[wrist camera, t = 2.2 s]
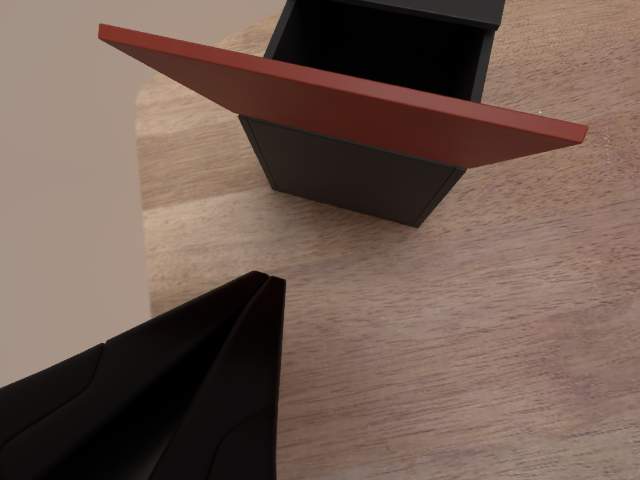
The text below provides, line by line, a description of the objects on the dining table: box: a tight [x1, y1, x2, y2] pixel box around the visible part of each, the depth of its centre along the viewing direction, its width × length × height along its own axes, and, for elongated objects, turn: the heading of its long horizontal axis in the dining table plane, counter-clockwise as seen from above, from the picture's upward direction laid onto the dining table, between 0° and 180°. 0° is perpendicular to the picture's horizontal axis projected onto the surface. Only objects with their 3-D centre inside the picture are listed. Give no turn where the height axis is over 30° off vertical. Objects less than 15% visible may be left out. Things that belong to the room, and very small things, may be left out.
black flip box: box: [238, 0, 505, 228], centre depth 20 cm, size 15×11×9 cm
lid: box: [98, 24, 588, 169], centre depth 10 cm, size 7×11×1 cm
